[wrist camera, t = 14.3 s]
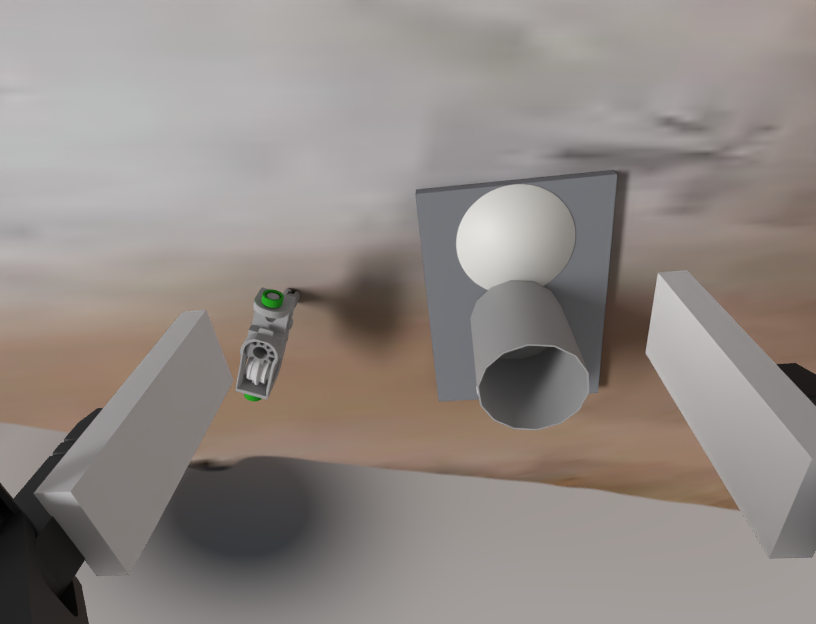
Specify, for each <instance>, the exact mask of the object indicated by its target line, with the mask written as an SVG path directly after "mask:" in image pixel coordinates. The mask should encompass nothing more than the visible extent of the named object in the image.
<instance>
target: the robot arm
mask: <svg viewBox="0 0 816 624" xmlns="http://www.w3.org/2000/svg"><path fill="white" fill-rule="evenodd" d="M646 355H647V356H648V358H649V360H650V361H651V363H652V365H653V366H654V368H655V370H656V371H657V373H658V375H659V376H660V378H661V380H662V381H663V383H664V385H665V386H666V388H667V390H668V391H669V393H670V395H671V396H672V398H673V400H674V401H675V403H676V405H677V406H678V408H679V410H680V411H681V413H682V415H683V416H684V418H685V419H686V421H687V423H688V424H689V426H690V428H691V429H692V431H693V433H694V434H695V436H696V438H697V439H698V441H699V443H700V444H701V446H702V448H703V449H704V451H705V453H706V454H707V456H708V458H709V459H710V461H711V463H712V464H713V466H714V468H715V469H716V471H717V473H718V474H719V476H720V478H721V479H722V481H723V483H724V484H725V486H726V488H727V489H728V491H729V493H730V494H731V496H732V498H733V499H734V501H735V503H736V504H737V506H738V507H739V509H740V511H741V512H742V514H743V516H744V517H745V519H746V521H747V522H748V524H749V526H750V527H751V529H752V531H753V532H754V534H755V536H756V537H757V539H758V541H759V542H760V544H761V546H762V547H763V549H764V551H765V552H766V554H767V555H768V557H769V558H771V559H772V558H808V557H813V555H814V553H815V551H816V374H814V373H812V372H810V371H809V370H807V369H805V368H803V367H802V366H800V365H798V364H796V363H789V364H775V363H774V362H773V361H772V359H771V358H770V357H769V356H768V355H767V354H766V353H765V352H764V351H763V350H762V349H761V348H760V347H759V346H758V345H757V344H756V343H755V341H754V340H753V339H752V338H751V337H750V336H749V335H748V334H747V333H746V332H745V331H744V330H743V329H742V328H741V327H740V326H739V325H738V324H737V322H736V321H735V320H734V319H733V318H732V317H731V316H730V315H729V314H728V313H727V312H726V311H725V310H724V309H723V308H722V307H721V306H720V304H719V303H718V302H717V301H716V300H715V299H714V298H713V297H712V296H711V295H710V294H709V293H708V292H707V291H706V290H705V289H704V288H703V287H702V285H701V284H700V283H699V282H698V281H697V280H696V279H695V278H694V277H693V276H692V275H691V274H690V273H689V272H688V271H687V270H683V271H671V272H659V273H658V276H657V282H656V289H655V295H654V301H653V308H652V314H651V321H650V327H649V333H648V340H647V346H646ZM233 381H234V380H233V378H232V375H231V373H230V370H229V368H228V365H227V362H226V360H225V357H224V355H223V352H222V349H221V347H220V344H219V342H218V339H217V336H216V334H215V331H214V329H213V326H212V323H211V321H210V318H209V316H208V313H207V310H198V311H185V312H182V313H181V314H180V315H179V316H178V318H177V319H176V320H175V321H174V323H173V324H172V325H171V326H170V327H169V329H168V330H167V331H166V332H165V333H164V335H163V336H162V337H161V338H160V340H159V341H158V342H157V343H156V344H155V346H154V347H153V348H152V349H151V351H150V352H149V353H148V354H147V355H146V357H145V358H144V359H143V360H142V362H141V363H140V364H139V365H138V366H137V368H136V369H135V370H134V371H133V373H132V374H131V375H130V376H129V377H128V379H127V380H126V381H125V382H124V383H123V385H122V386H121V387H120V388H119V390H118V391H117V392H116V393H115V394H114V396H113V397H112V398H111V399H110V401H109V402H108V403H107V404H106V405H105V407H104V408H97V409H96V410H95V411H93V412H92V413H91V414H89V415H88V416H87V417H85V418H84V419H83V420H81V421H80V422H79V423H78V424H77V425H76V426H75V427H74V428H73V429H72V431H71V432H70V433H69V434H68V435H67V436H66V438H65V439H64V442H63V443H61V444H60V445H59V446H58V447H57V448H56V449H55V451H54V452H53V456H49V458H48V459H47V460H46V461H45V462H44V463H43V465H42V466H41V467H40V468H39V469H38V471H37V472H36V473H35V474H34V475H33V477H32V478H31V479H30V480H29V481H28V482H27V484H26V485H25V486H24V487H23V488H22V489H21V491H20V492H19V493H18V494H17V495H16V497H15V498H14V499H13V498H12V497H11V496H10V494H9V493H8V492H7V491H6V489H5V488H4V487H3V486H2V484H1V483H0V624H89V623H88V617H87V613H86V606H85V601H84V596H83V591H82V585H81V584H80V582H79V580H78V579H77V577H76V576H75V574H76V573H77V571H78V570H79V568H80V567H81V565H82V563H83V562H84V560H85V561H86V563H87V564H88V565H89V566H90V568H91V569H92V570H93V572H94V573H95V574H96V576H119V575H130V573H131V571H132V569H133V568H134V566H135V564H136V562H137V560H138V558H139V556H140V555H141V553H142V551H143V549H144V547H145V545H146V543H147V541H148V540H149V537H150V536H151V534H152V532H153V530H154V528H155V526H156V525H157V523H158V521H159V519H160V517H161V515H162V513H163V512H164V510H165V508H166V506H167V504H168V502H169V500H170V498H171V496H172V495H173V493H174V491H175V489H176V487H177V485H178V483H179V481H180V480H181V478H182V476H183V474H184V472H185V470H186V468H187V467H188V465H189V463H190V461H191V459H192V457H193V455H194V454H195V452H196V450H197V448H198V446H199V444H200V442H201V440H202V439H203V437H204V435H205V433H206V431H207V429H208V427H209V425H210V424H211V422H212V420H213V418H214V416H215V414H216V412H217V410H218V409H219V407H220V405H221V403H222V401H223V399H224V397H225V396H226V394H227V392H228V390H229V388H230V386H231V384H232V382H233Z"/></svg>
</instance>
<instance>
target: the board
mask: <svg viewBox="0 0 816 624" xmlns="http://www.w3.org/2000/svg"><path fill="white" fill-rule="evenodd" d="M616 183H617V173H615V172H614V171H613V170H610V171H600V172H590V173H580V174H570V175H560V176H550V177H540V178H530V179H520V180H510V181H500V182H490V183H480V184H470V185H460V186H450V187H440V188H430V189H420V190H416V203H417V212H418V221H419V230H420V239H421V248H422V257H423V265H424V274H425V283H426V292H427V301H428V310H429V319H430V328H431V337H432V346H433V355H434V364H435V372H436V381H437V390H438V399H439V401H456V400H475V399H479V396H478V390H477V383H476V372H475V362H474V352H473V341H472V331H471V321H470V317H471V315H472V312H473V309H474V307H475V304H476V301H477V300H478V299H479V298H480V297H481V296H483V295H484V294H485V293H486V292H487V291H488V290H489V289H490V288H491V287H494V286H497V285H499V284H502V283H505V282H508V281H510V280H518V281H533V282H535V283H537V284H539V285H541V286H543V287H545V288H547V289H549V290H551V292H552V293H553V295H554V296H555V297H556V299H557V300H558V302H559V303H560V305H561V307H562V309H563V312H564V314H565V317H566V319H567V321H568V324H569V326H570V329H571V331H572V334H573V336H574V338H575V341H576V343H577V346H578V348H579V351H580V353H581V355H582V358H583V360H584V363H585V365H586V368H587V370H588V372H589V393H598V386H599V375H600V363H601V352H602V341H603V330H604V318H605V307H606V296H607V284H608V273H609V262H610V251H611V239H612V228H613V217H614V206H615V194H616Z"/></svg>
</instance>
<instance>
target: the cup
mask: <svg viewBox="0 0 816 624" xmlns="http://www.w3.org/2000/svg"><path fill="white" fill-rule="evenodd" d="M470 321H471V331H472V341H473V352H474V362H475V372H476V383H477V390H478V396H479V401H480V406H481V407H482V408H483V409H484V410H485V411H486V413H487V414H488V415H489V416H490V417H491V418H492V419H493V420H494V421H496V422H499V423H501V424H503V425H506V426H508V427H510V428H512V429H524V430H540V429H543V428H547V427H550V426H554V425H558V424H561V423H562V422H563V421H565V420H566V419H568V418H569V417H570V416H572V415H573V414H575V413H576V412H577V411H579V409H580V408H581V406H582V404H583V402H584V401H585V399H586V397H587V395H588V394H589V372H588V370H587V368H586V365H585V363H584V360H583V358H582V355H581V353H580V351H579V348H578V346H577V343H576V341H575V338H574V336H573V334H572V331H571V329H570V326H569V324H568V321H567V319H566V317H565V314H564V312H563V309H562V307H561V305H560V303H559V302H558V300H557V299H556V297H555V296H554V295H553V293H552V292H551V290H549V289H547V288H545V287H543V286H541V285H539V284H537V283H535V282H533V281H518V280H510V281H508V282H505V283H502V284H499V285H497V286H494V287H491V288H490V289H489V290H488V291H487V292H486V293H485V294H484V295H483V296H481V297H480V298H479V299H478V300H477V301H476V304H475V307H474V309H473V312H472V315H471V317H470Z"/></svg>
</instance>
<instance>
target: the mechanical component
mask: <svg viewBox="0 0 816 624" xmlns="http://www.w3.org/2000/svg"><path fill="white" fill-rule="evenodd" d="M291 291H292V290H290V289H286V290H285V291H284V293H281V292H279V291H277V290H269V289H266V288H261V290H260V291H259V293H258V294H257V296H256V297H255V300H254V306H253V308H254V316H253V322H252V325H251V327H250V329H249V331H248V337H247V338H246V340H245V342H244V343H243V345H242V347H241V350H240V354H241V361H240V367H239V373H238V378H237V384H236V390H235V391H237V392H241V393H244V396H245V398H246V399H248V400H250V401H259V400H261V399H262V398H263V399H266V400H267V399H268V396H269V394H270V392H271V390H272V388H273V385H274V383H275V381H276V379H277V376H278V373H279V370H280V367H281V364H282V360H283V355H284V351H285V346H286V342H287V340H288V333H289V330H290V329H291V327H292V325H293V319H292V315H293V311H294V308H295V307H296V305H297V303H298V301H299V299H300V294H299V292H295V293H294V294H291ZM248 357H249V359H248V362H247V365H246V367H245V364H246V361H247V358H248ZM244 368H245V369H244Z"/></svg>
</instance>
